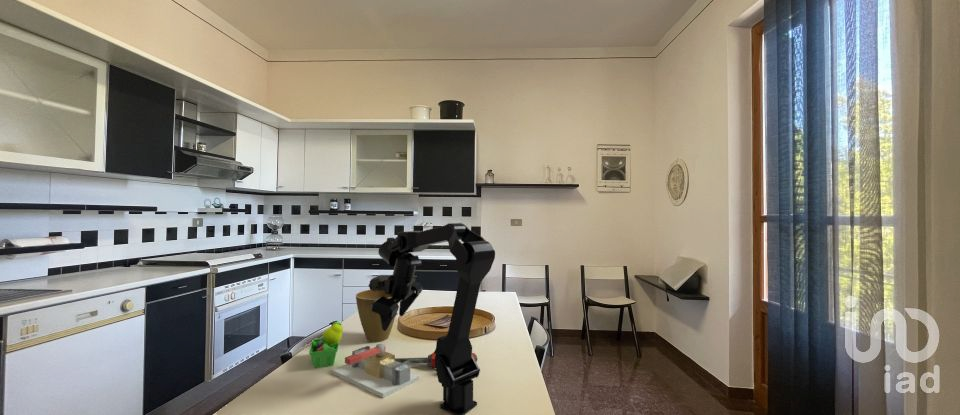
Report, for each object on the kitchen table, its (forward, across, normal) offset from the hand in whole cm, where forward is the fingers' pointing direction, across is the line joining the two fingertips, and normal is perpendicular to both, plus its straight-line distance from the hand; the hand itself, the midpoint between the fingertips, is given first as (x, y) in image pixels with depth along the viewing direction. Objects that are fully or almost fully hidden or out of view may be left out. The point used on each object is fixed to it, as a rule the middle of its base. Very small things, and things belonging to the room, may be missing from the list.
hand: (392, 322), depth 104 cm
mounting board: (+12, +8, +2) cm, 15 cm away
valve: (+11, -5, +14) cm, 18 cm away
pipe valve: (+12, +7, +3) cm, 14 cm away
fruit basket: (+19, +3, -17) cm, 26 cm away
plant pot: (+21, -17, -12) cm, 30 cm away
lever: (+6, +11, -1) cm, 12 cm away
